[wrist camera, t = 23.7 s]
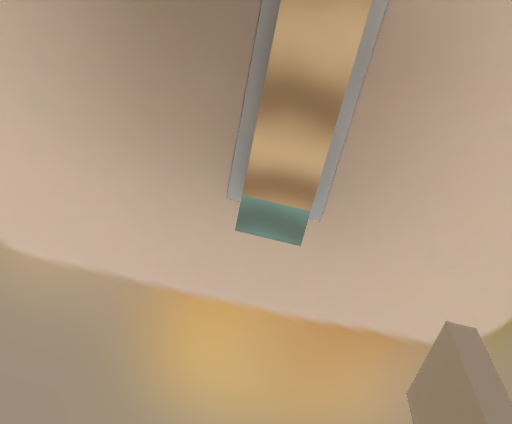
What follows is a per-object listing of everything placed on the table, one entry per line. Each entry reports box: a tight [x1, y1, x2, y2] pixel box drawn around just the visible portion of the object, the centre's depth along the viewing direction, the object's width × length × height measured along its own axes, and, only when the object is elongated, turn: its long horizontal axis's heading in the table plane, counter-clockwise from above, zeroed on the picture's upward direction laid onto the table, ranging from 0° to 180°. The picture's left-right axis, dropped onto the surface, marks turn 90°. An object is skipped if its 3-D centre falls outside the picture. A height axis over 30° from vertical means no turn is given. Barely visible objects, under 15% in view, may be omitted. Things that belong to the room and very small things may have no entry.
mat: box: [226, 0, 388, 221], centre depth 34 cm, size 22×9×1 cm, turn 169°
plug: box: [235, 0, 372, 246], centre depth 30 cm, size 18×5×8 cm, turn 169°
